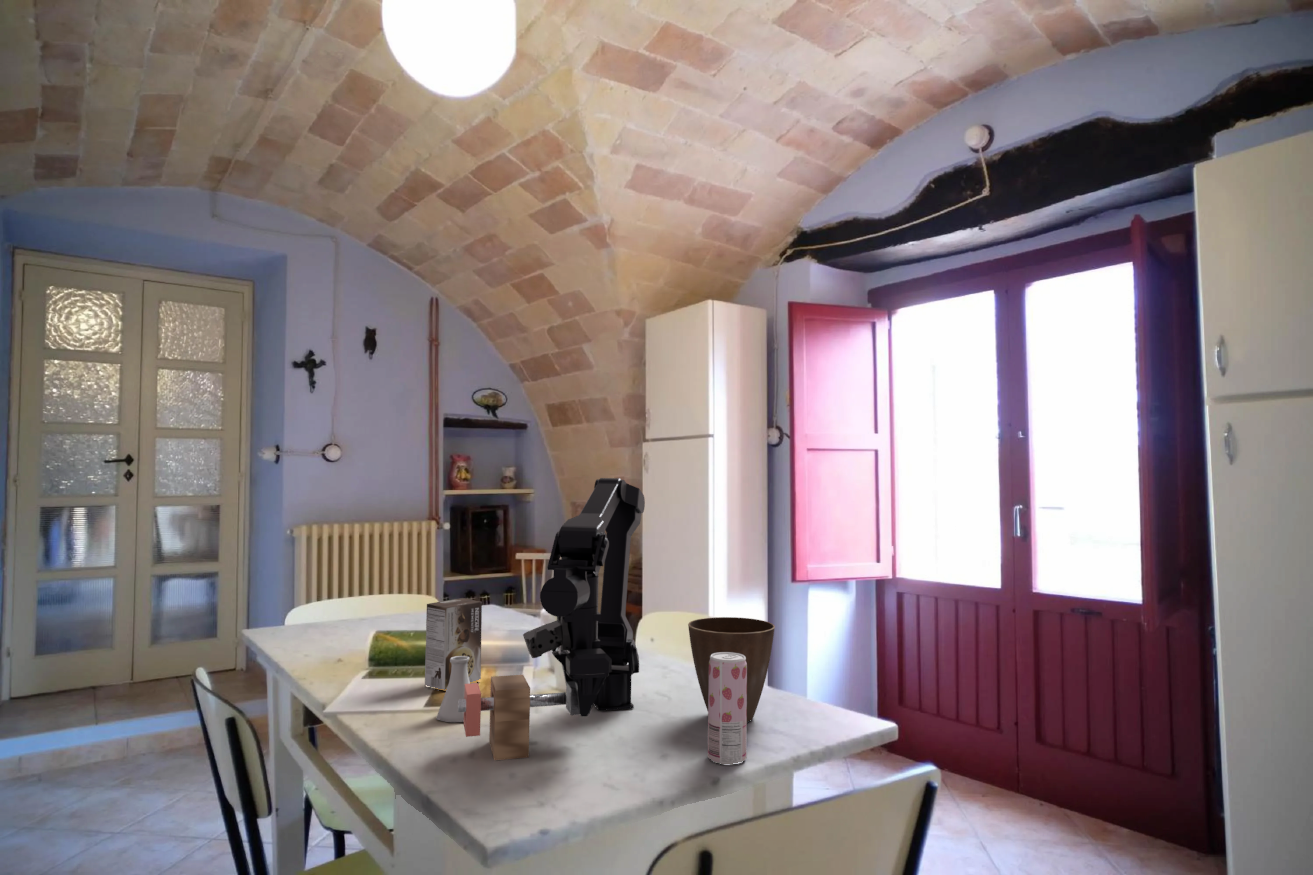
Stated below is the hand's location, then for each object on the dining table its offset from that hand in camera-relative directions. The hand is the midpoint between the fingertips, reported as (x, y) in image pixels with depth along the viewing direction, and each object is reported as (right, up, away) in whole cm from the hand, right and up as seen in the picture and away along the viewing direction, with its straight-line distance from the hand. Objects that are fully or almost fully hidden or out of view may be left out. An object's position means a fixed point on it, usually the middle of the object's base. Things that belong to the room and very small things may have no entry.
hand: (577, 707), depth 121 cm
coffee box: (-28, -7, +32) cm, 43 cm away
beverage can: (+23, -6, -6) cm, 24 cm away
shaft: (-8, 0, -3) cm, 8 cm away
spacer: (-15, -2, -5) cm, 16 cm away
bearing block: (-10, -5, -3) cm, 12 cm away
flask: (-22, -6, +12) cm, 25 cm away
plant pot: (+25, -7, +14) cm, 29 cm away
